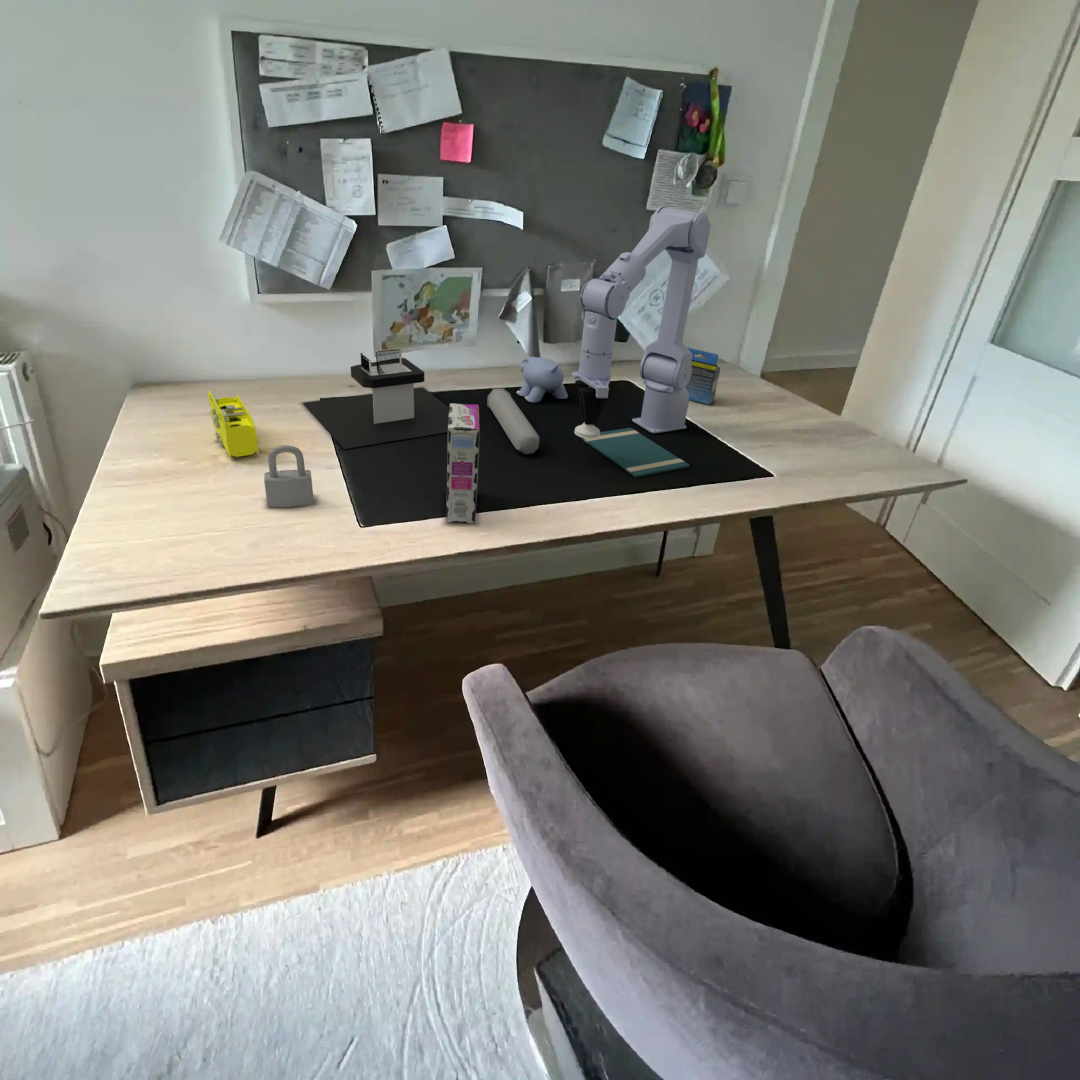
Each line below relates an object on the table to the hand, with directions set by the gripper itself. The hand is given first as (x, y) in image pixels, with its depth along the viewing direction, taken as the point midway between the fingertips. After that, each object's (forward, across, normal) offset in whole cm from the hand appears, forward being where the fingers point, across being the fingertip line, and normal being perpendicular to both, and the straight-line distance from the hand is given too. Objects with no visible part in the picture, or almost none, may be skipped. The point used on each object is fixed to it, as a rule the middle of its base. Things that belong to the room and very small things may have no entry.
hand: (588, 421), depth 137 cm
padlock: (+8, +16, -53) cm, 56 cm away
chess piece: (+3, 0, 0) cm, 3 cm away
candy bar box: (+8, +19, -25) cm, 32 cm away
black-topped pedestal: (+8, -22, -38) cm, 45 cm away
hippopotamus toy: (+8, -37, -3) cm, 38 cm away
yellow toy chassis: (+8, -8, -66) cm, 67 cm away
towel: (+8, -4, +11) cm, 14 cm away
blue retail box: (+8, -35, +35) cm, 50 cm away
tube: (+8, -13, -12) cm, 20 cm away
